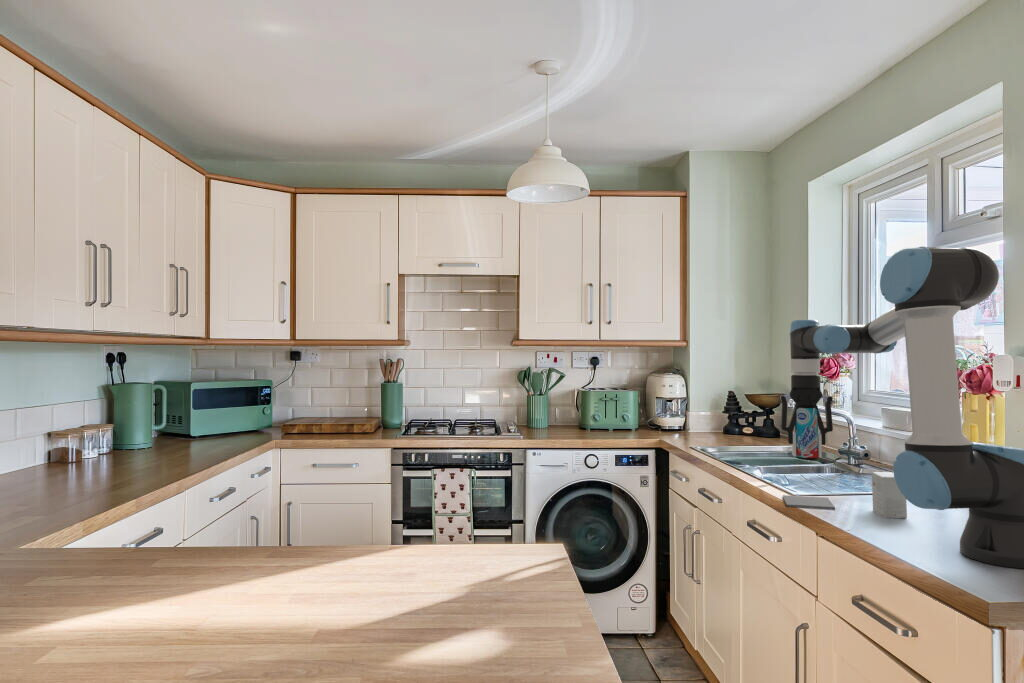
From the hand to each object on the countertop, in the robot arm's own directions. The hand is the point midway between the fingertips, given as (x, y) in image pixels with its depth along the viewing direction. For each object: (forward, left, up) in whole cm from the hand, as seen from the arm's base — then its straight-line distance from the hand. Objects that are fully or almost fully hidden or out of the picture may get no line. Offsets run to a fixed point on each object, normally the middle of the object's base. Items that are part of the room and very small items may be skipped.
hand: (806, 455), depth 181 cm
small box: (-8, -19, -14) cm, 24 cm away
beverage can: (0, 0, -1) cm, 1 cm away
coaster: (0, 0, -13) cm, 13 cm away
